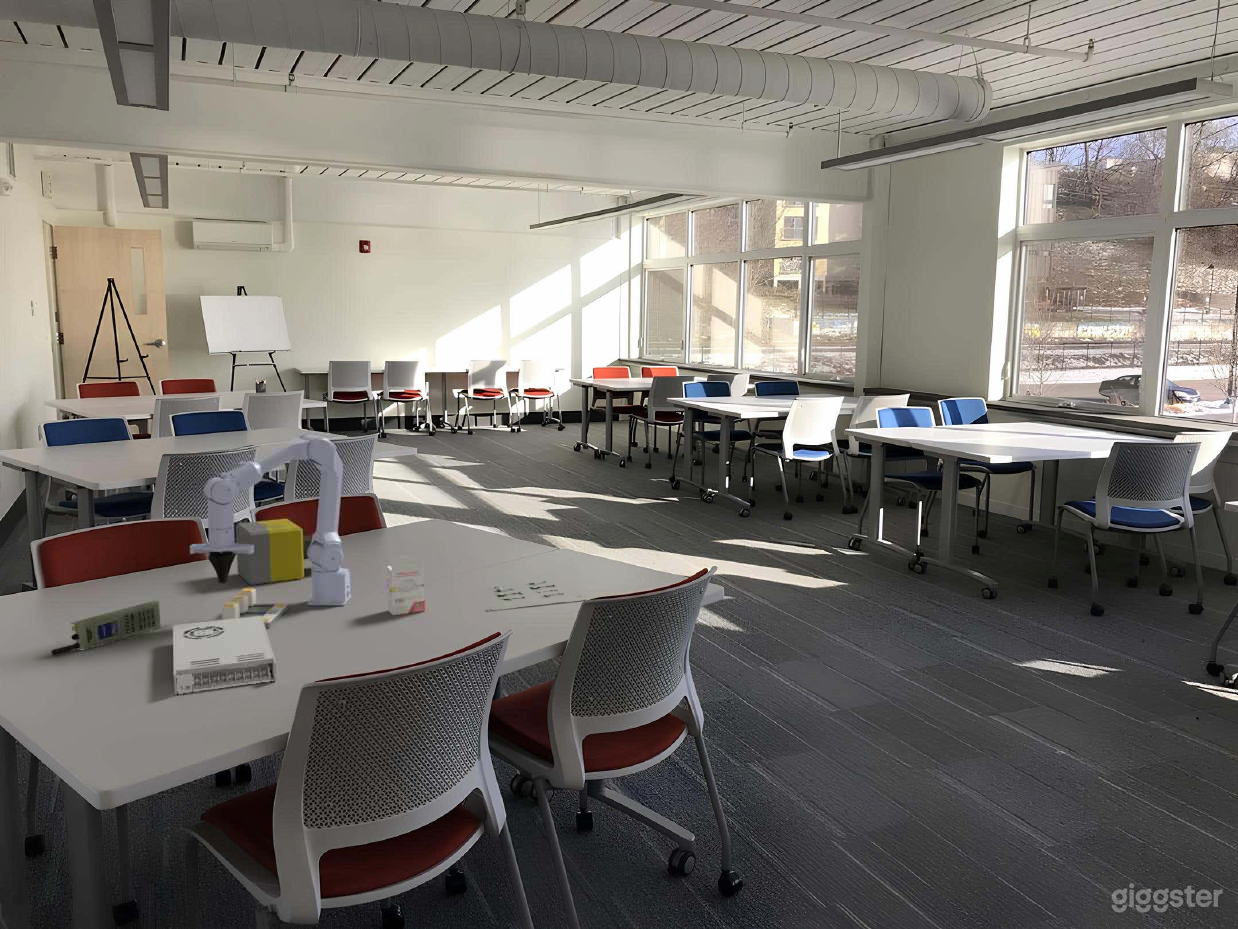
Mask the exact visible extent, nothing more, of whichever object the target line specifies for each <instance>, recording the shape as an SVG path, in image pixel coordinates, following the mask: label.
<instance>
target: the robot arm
mask: <svg viewBox="0 0 1238 929" xmlns="http://www.w3.org/2000/svg"><path fill="white" fill-rule="evenodd" d="M292 460H304V461H305V460H306V461H310V462H311V463H312V464H313V465H315V467H316V468H317V469H318V470H319V471H320V484H319V494H318V508H317V517H316V518H317V519H316V530H315V532H314V535H313V536H312V542H311V544H310V546H309V548H308V551H307V556H308V558H309V559H308V561H310V562H311V568H310V569H311V570H310V571H311V596H312V598H311V599H310V600H309V601H308V603H307V606H345V605H346V604H347V603H348V602H349V600H350V599H351V598H352V595H351V574H350V569H349V568H343V567H341V566H342V565H343V562H344V560H345V559H344V558H345V555H344V552H343V549H342V540H341V537H340V536H339V531H338V530H339V521H340V520H339V519H340V509H341V508H340V507H341V498H342V496H341V495H342V487H343V486H342V485H343V484H342V483H343V472H344V465H343V462H342V460H341V457H340V456H339V454H338V451H337V445H336V444H334V442H332V441H331V440H330V439H328V438H327V437H324V436H318V435H314V434H312V433H303V434H302V435H300V436H299V437H295V438H293V439H291V440H290V441H289V442H287V443H286V444H284V445H282V446H281V447H279V448H278V449H276V450H274V451H273V452H271V453H269V454H268V455H266V456H265V457H263V458H261V459H259V460H258V461H256V462H254V461H250V460H248V461H246V462H245V461H244V460H243V461H240V462H239V463H238V466H236V467H234V468H232V469H231V470H229V471H227V472H225V471H224V472H222V473H220V476H221V477H212V478H210V479H209V480H208V481H207V482H206V484H205V485H204V488H203V489H202V491H203V495H204V496H205V497H206V499H207V522H208V523H207V526H208V530H207V531H208V543H193V544H191V545H189V555H191V554H209V555H208V557H207V558H208V561H209V562H210V563H211V566H212V568H213V569H214V571H215V574H216V576H217V580H218V583H219V584H226V583H227V582H228V580H229V575H230V570H231V569H232V568H231V567H232V565H233V563H234V560H235V558H236V557H237V553H247V554H252V553H253V552H254V545H250V544H239V543H236V542H235V541H236V539H235V522H234V520H235V517H234V503H233V501H234V500H235V498H236V497H237V495H238V494H240V493H242V492H244V491H246V490H247V489H250V488H251V487H253V486H255V485H256V484H259V482H262V480H263V477H264V475H265V474H267V473H268V472H271V471H272V470H274V469H275V468H278V467H280V466H282V465H284V464H286V463H288V462H290V461H292Z"/></svg>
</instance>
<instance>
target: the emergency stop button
mask: <svg viewBox="0 0 1238 929" xmlns="http://www.w3.org/2000/svg"><path fill="white" fill-rule="evenodd" d="M303 531H304V530H303V528H301V526H299V525H297V524H296V523H294V522H292V521H291V520H289V519H288V518H281V519H270V520H260V521H252V522H251V521H249V522H240V523H239V522H238V523H237V524H236V525H235V537H236V538H235V541H236V542H235V543H239V544H250V545H254V552H253V553H252V554H247V553H236V561H237V562H236V563H237V564H236V565H237V568H236V569H237V573H238V574H239V576H240V577H242V578H243V579H244V580H245V581H246V583H248V584H249V585H251V586H258V585H257V584H260V585H264V584H263V583H267V584H274V583H273V582H275V583H280V582H279V581H282V582H289V581H288V580H290V581H293V580H292V579H297V580H302V579H303V578H305V570H304V569H305V568H304V567H305V566H304V561H305V560H309V558H308V556H307V551H308V548H309V546H310V544H311V542H312V536H313V535H314V533H315V532H314V533H310V534H309V535H304V534H303Z"/></svg>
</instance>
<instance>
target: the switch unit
mask: <svg viewBox="0 0 1238 929" xmlns="http://www.w3.org/2000/svg"><path fill="white" fill-rule="evenodd" d="M289 609H290V603H284V602H282V603H279V602H278V603H255V604H254V605H253V606H248V610H247V611H246V612H245V613H240V617H239V618H244V617H254V616H262V619H263V622H264V625H265V628H266V629H270V628H272V626H273V625H274V624H275V623H276V622H277V621H278V620H279V619H280V618H281V617H282V616H283V615H284V614H285V613H286V612H287V611H288V610H289ZM285 611H286V612H285ZM282 614H283V615H282ZM217 620H223V619H222V612H221V613H219V615H217V616H216V617H215V618H214V619H213V620H212V621H217Z"/></svg>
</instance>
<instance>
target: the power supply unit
mask: <svg viewBox="0 0 1238 929" xmlns="http://www.w3.org/2000/svg"><path fill="white" fill-rule="evenodd" d="M172 634H173V635H172V639H173V640H172V645H173V646H172V647H173V648H172V649H173V651H172V652H173V654H172V656H173V663H172V664H173V687H174V694H175V693H177V678H176V675H182V674H189V673H191V674H192V690H194V689H202V688H211V687H217V686H223V685H231V684H238V683H248V682H253V681H262V680H271V675H272V674H273V676H274V678H273V680H274V679H275V680H276V681H277V662H276V659H275V656H274V652H273V649H272V645H271V642H270V639H269V635H268V632H267V628H265V625H264V622H263V619H262V616H254V617H244V618H235V619H226V620H217V621H213V620H210V621H200V622H199V621H198V622H192V623H191V622H190V623H182V624H181V623H180V624H173V625H172ZM260 653H264V654H260ZM252 654H259V655H252ZM244 655H250V656H244ZM262 655H264V656H262ZM236 656H239V657H236ZM240 656H241V657H240ZM245 657H250V658H245ZM263 657H265V658H263ZM246 659H247V660H246ZM242 660H243V661H242ZM190 662H191V663H190ZM191 664H192V665H191ZM191 666H196V667H191ZM270 670H272V672H271V673H270ZM273 676H272V677H273ZM180 688H181V689H183V687H182V686H181V687H180ZM186 689H187V690H188V689H190V686H186V687H185V690H186Z"/></svg>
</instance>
